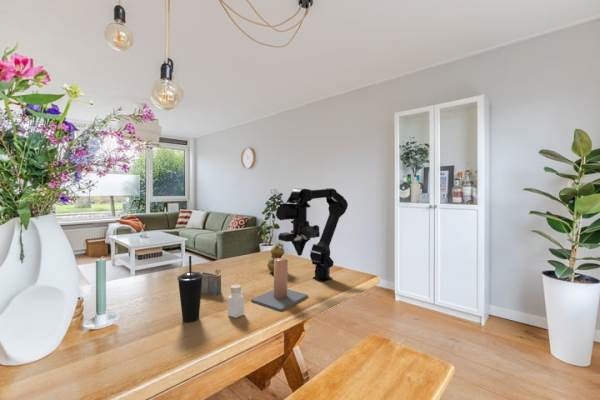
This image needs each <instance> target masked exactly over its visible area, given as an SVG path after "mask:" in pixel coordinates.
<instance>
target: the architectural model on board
mask: <svg viewBox="0 0 600 400" xmlns="http://www.w3.org/2000/svg"><path fill="white" fill-rule="evenodd" d="M221 271H222V269H220V270H218V269H215V271H214V273H210V272H205V271H202V274H203V278H202V288H201V294H202V293H203V294H207V295H212V296H213V295H214V296H218V295H220V294H222V274H220V273H221ZM197 272H198V273H201V272H200V271H197ZM219 274H220V275H219Z"/></svg>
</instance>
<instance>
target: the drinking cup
mask: <svg viewBox="0 0 600 400" xmlns="http://www.w3.org/2000/svg"><path fill="white" fill-rule="evenodd" d="M198 272H199V271H192V256H191V255H189V256H188V271H187V272H183V273H182V274H180V275H179V276H177V281H178V290H179V299H180V308H181V309H180V310H181V319H182V322H184V323H193V322H196V321H197V320H198V321H199V318H200V309H201V298H202V292H201V288H202V278H203V273H201V272H200V273H198Z"/></svg>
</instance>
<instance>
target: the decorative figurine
mask: <svg viewBox="0 0 600 400" xmlns="http://www.w3.org/2000/svg"><path fill="white" fill-rule="evenodd" d="M270 253H271V257H269V259H268V261H267V268H268V270H269V271H270V272H271V274H274V259H276V258H283V256H284V254H285V249H284V244H283V243H281V241H277V242H276V243H275V245H273V246H272V247H271V250H270Z"/></svg>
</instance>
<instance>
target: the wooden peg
mask: <svg viewBox="0 0 600 400" xmlns="http://www.w3.org/2000/svg"><path fill="white" fill-rule="evenodd" d="M288 261H289V260H288V259H287V258H284V257H282V258H276V259H274V273H273V290H274V298H275V299H279V300H281V299H286V298H287V289H288V267H289V266H288Z"/></svg>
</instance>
